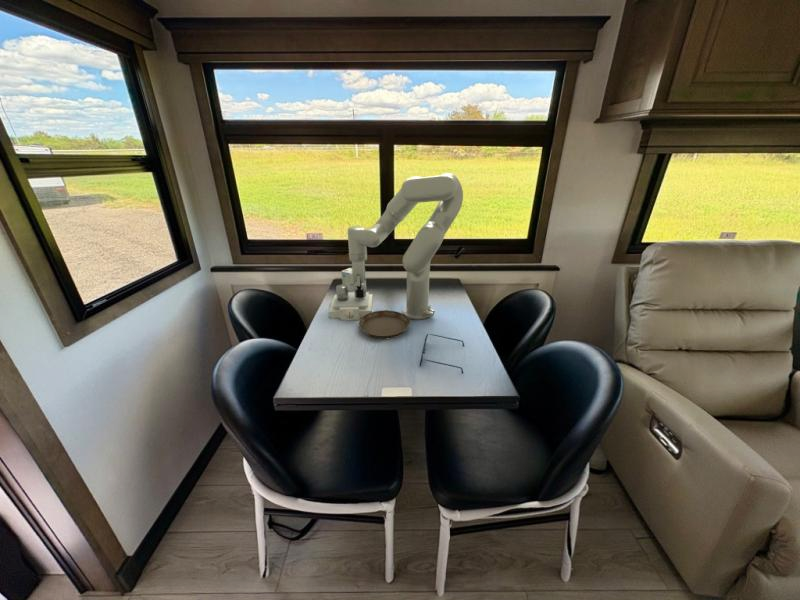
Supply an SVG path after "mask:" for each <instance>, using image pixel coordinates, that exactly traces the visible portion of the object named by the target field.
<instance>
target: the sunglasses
mask: <svg viewBox="0 0 800 600" xmlns="http://www.w3.org/2000/svg"><path fill="white" fill-rule="evenodd" d="M428 335H431V336H434V337H440V338H443V339H449V340H453V341H457V342H461V343H462V347H465V344H464V341H463V340H460V339H456V338H451V337H448V336H447V337H446V336H442V335H437V334H432V333H431V334H430V333H427V334H426V336H425V339H424V342H423V348H422V352H421V357H420V361H419V367H421V366H422V365H421V364H422V361H423V360H424V361H426V362H431V363H434V364H435V363H436V364H440V365H443V366H449V367H453V368H458V369H460V370H461V374H462V373H463V374H464V369H463V368H462V367H461V366H457V365H453V364H448V363H443V362H439V361H433V360H431V359H430V360H429V359H425V358H424V357H423V355H425V354H426V343H427V338H428V337H429V336H428ZM423 358H424V359H423Z"/></svg>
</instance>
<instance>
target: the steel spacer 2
mask: <svg viewBox="0 0 800 600" xmlns="http://www.w3.org/2000/svg"><path fill="white" fill-rule="evenodd" d="M360 282H361V281H360ZM362 284H363V292H364V297H366V292H367V282H366V283H365V282H364V283H362ZM360 285H361V284H360ZM354 294H355V297H356V282H355V283H354ZM364 297H363V298H364ZM356 298H357V297H356Z"/></svg>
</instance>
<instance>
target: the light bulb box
mask: <svg viewBox="0 0 800 600" xmlns="http://www.w3.org/2000/svg"><path fill="white" fill-rule="evenodd" d="M366 279H367V277H366V274H365V278H364V282H365V283H366V284H367V280H366ZM341 280H342V284H344V285H347V286H348V292H354V284H353V282H352V267H348V268H346V269H343V270H341Z"/></svg>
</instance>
